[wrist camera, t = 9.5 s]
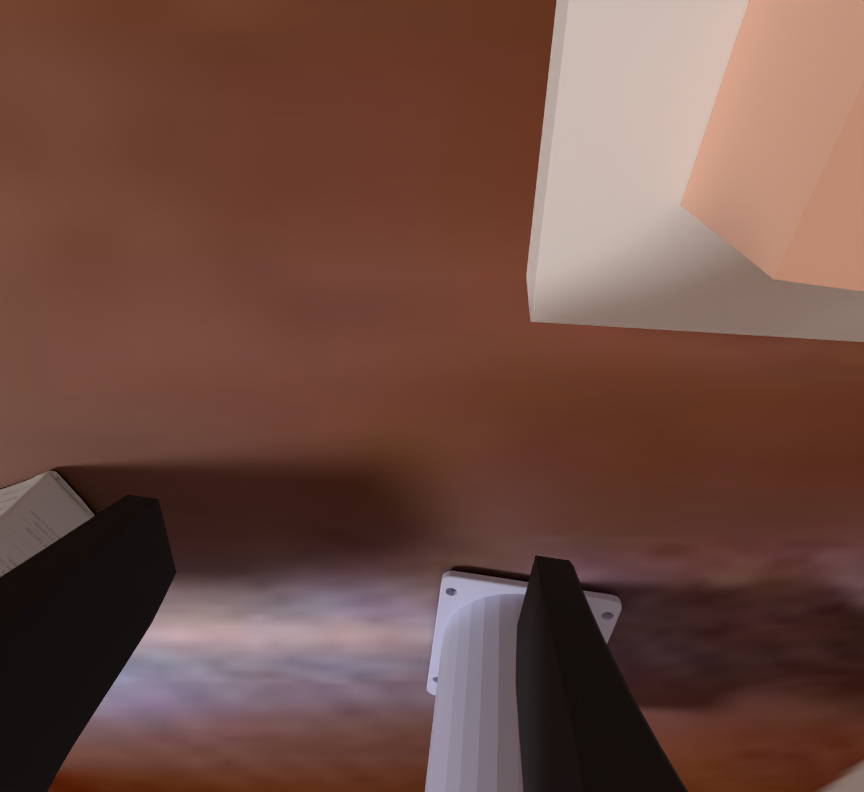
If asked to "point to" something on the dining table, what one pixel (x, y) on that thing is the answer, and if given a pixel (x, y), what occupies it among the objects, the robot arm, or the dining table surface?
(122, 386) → the dining table surface
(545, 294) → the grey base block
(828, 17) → the terracotta block
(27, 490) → the skincare box
